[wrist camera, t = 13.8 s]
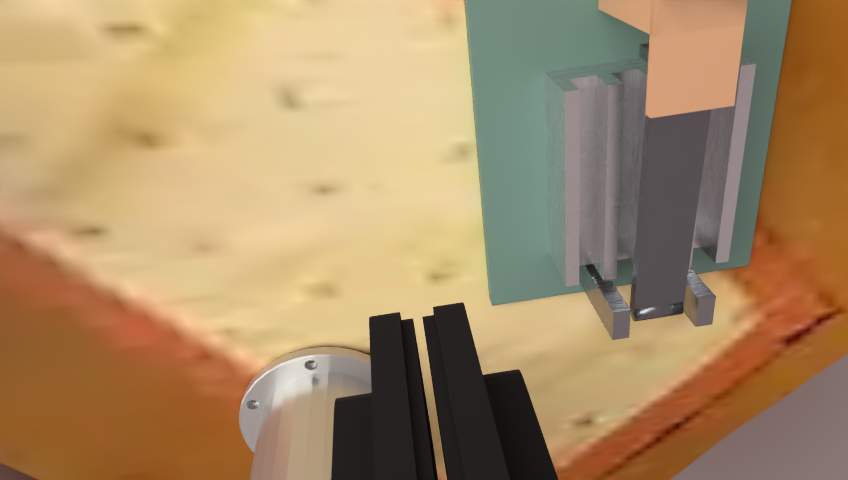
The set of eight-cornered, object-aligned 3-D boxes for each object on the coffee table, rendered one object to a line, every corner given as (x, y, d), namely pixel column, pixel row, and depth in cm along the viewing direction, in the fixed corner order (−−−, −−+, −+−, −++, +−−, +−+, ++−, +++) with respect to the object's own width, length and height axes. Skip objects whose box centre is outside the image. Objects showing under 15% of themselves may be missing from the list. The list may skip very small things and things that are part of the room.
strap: (668, 295, 39) (684, 317, 37) (621, 302, 39) (634, 325, 37) (700, 35, 30) (723, 47, 29) (639, 44, 30) (658, 56, 28)
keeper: (666, 66, 36) (734, 105, 29) (597, 77, 36) (650, 118, 29) (673, -38, 33) (750, -20, 27) (598, -27, 33) (657, -7, 27)
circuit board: (741, 258, 44) (748, 265, 43) (489, 297, 44) (492, 305, 43) (794, -92, 33) (806, -92, 33) (460, -45, 33) (463, -43, 32)
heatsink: (693, 262, 43) (745, 318, 37) (549, 284, 43) (579, 345, 37) (717, 46, 36) (785, 76, 30) (543, 72, 35) (579, 107, 30)
